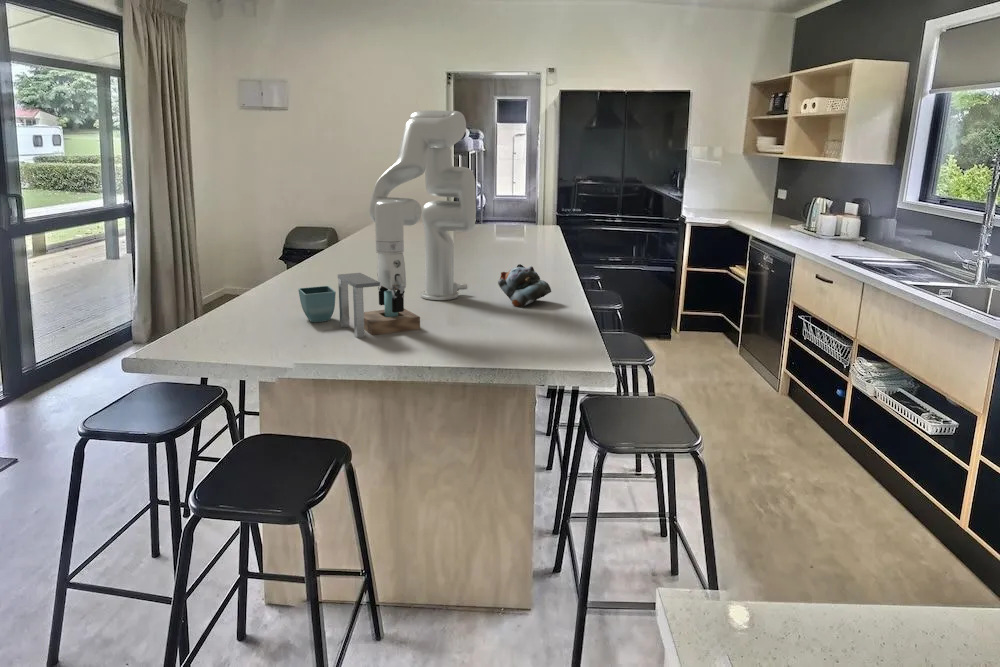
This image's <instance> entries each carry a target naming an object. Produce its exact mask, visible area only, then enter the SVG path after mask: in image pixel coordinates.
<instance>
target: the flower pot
mask: <svg viewBox="0 0 1000 667" xmlns="http://www.w3.org/2000/svg"><path fill="white" fill-rule="evenodd" d="M297 290H298V295H299V296H298V297H299V301H300V304H301V305H300V307H301V308H302V311H303V313H304V314H305V317H306V318H307V319H308V320H309V321H310V322H311V323H318V322H328V321H330V320H331V318H332V316H333V315H334V311H335V307H336V306H335V305H336V291H335V290H334V289H333V288H331V287H330V285H329V286H328V285H322V286H320V285H319V286H311V287H299V288H298V289H297Z"/></svg>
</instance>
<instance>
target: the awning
mask: <svg viewBox="0 0 1000 667" xmlns="http://www.w3.org/2000/svg"><path fill="white" fill-rule="evenodd" d="M337 281H338V307H339V308H338V309H339V325H340V326H339V327H341V328H349V327H350V311H349V310H350V305H349V304H350V303H349V302H350V301H349V286H351V287H352V294H353V295H352V299H353V301H352V302H353V324H354V326H353V327H354V337H355V338H357V339H360V338H365V330H364V312H365V311H364V310H365V309H364V308H365V307H364V306H365V305H364V288H371V287H373V288H374V287H378V286H380V282H378V280H376V279H374V278H372V277H370V276H368V275H366V274H364V273H362V272H353V273H339V274H337Z"/></svg>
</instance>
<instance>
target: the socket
mask: <svg viewBox="0 0 1000 667" xmlns="http://www.w3.org/2000/svg"><path fill="white" fill-rule="evenodd" d="M416 330H421V316H419V315H418V314H416V313H413V312H411V311H410V310H408V309H406V308H404V311H403V312H398V316H395V317H387V318H386V317H385V309H380V310H369V311H364V332H366V333H368V334H370V335H371V336H375V335H376V336H377V335H384V334H391V333H399V332H407V331H408V332H409V331H416Z"/></svg>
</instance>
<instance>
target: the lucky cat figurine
mask: <svg viewBox="0 0 1000 667" xmlns="http://www.w3.org/2000/svg"><path fill="white" fill-rule="evenodd" d="M497 285H498V286H499V288H500V290H501V291H502V292H503V293H504V294H505V296H507V297H508V299H509V300H510V301H511V304H512V305H513V306H514V307H518V308H524V307H526V306H528V305H530V304H532V303H534V302H535V301H537V300H539V299H541V298H544V297H545V296H547V295H549V294H550V293H552V292H553V291H552V289H551V286H550V284H549V283H548V282H547V281H545V280H543V279H541V278H540V275H539V274H538V273H537V272H536V270H535V269H534V267H533V266H531V265H529V266H528V267H525V266H524V265H523V264H517V266H516V267H513V268H511V269H510V270H509V271H508V272H507V271H506V272H505V271H502V272H500V278H499V280H497Z"/></svg>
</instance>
